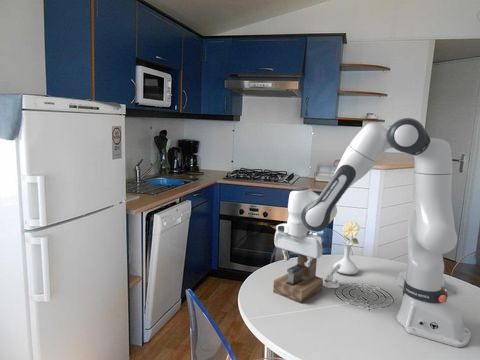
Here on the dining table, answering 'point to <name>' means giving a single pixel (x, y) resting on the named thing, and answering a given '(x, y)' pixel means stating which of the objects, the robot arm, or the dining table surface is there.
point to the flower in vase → (348, 249)
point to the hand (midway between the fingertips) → (296, 263)
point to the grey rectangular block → (295, 274)
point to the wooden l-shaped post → (303, 289)
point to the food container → (403, 277)
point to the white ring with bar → (331, 278)
